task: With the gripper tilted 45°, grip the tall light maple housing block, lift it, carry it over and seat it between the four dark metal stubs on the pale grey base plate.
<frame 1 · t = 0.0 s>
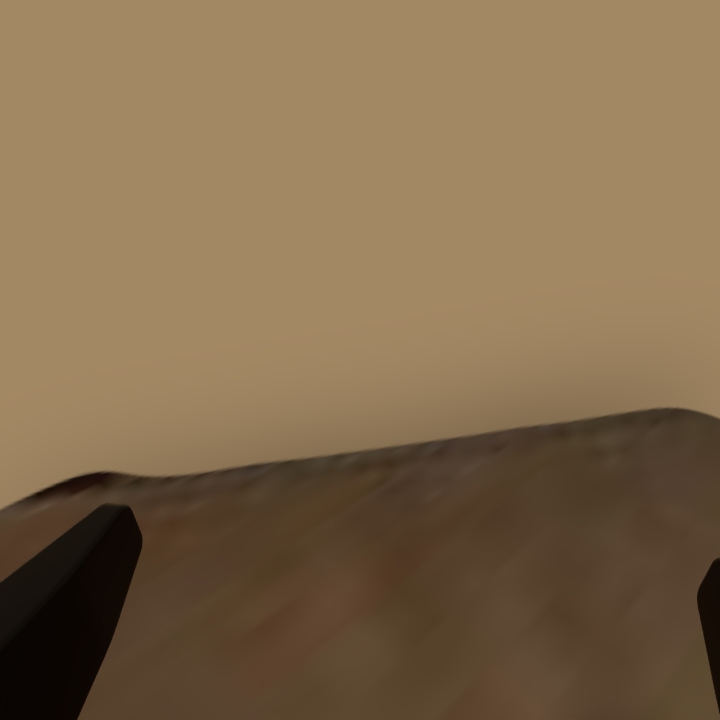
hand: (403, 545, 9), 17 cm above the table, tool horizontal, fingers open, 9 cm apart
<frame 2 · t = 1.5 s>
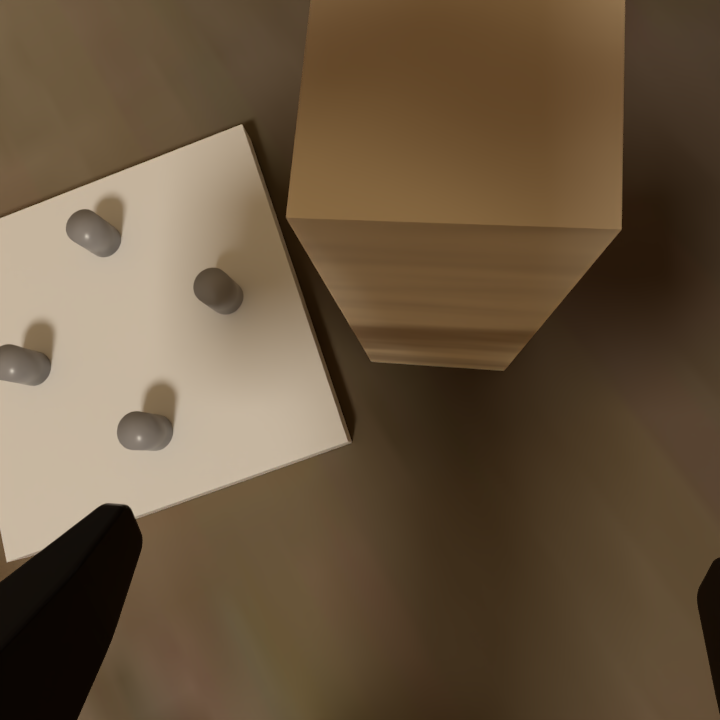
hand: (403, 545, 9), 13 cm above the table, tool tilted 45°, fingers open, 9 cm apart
stub base plate: (144, 339, 24), on the table
maple housing block: (440, 302, 23), on the table
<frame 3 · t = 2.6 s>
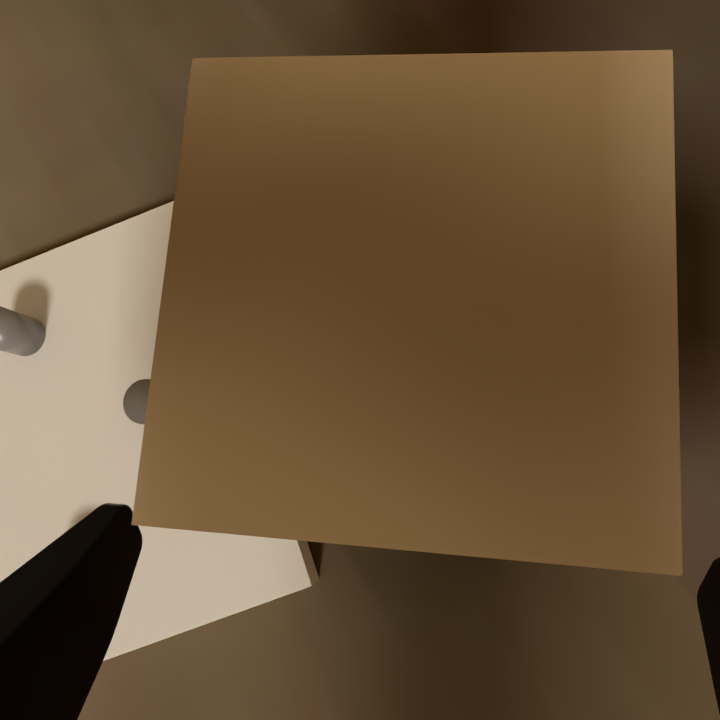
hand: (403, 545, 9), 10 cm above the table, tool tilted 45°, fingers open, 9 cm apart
stub base plate: (75, 449, 21), on the table
maple housing block: (422, 406, 20), on the table
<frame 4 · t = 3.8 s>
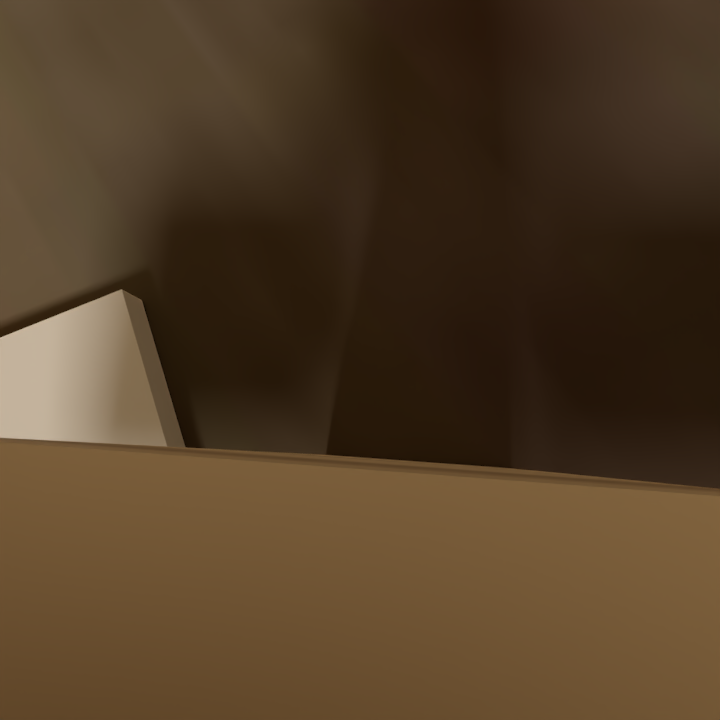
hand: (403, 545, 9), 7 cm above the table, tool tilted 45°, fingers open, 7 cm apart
maple housing block: (411, 557, 16), on the table
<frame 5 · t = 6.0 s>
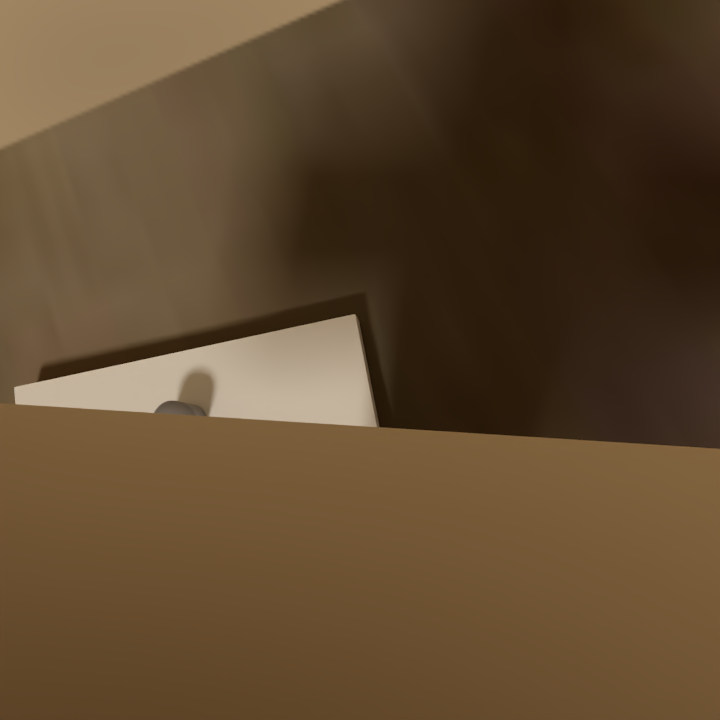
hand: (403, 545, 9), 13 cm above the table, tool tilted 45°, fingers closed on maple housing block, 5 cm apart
stub base plate: (216, 530, 22), on the table
maple housing block: (415, 558, 16), point 6 cm above the table, touching gripper
when the fingers open (9 cm above the table, at t = 8.0 s): maple housing block stays where it is, resting on stub base plate.
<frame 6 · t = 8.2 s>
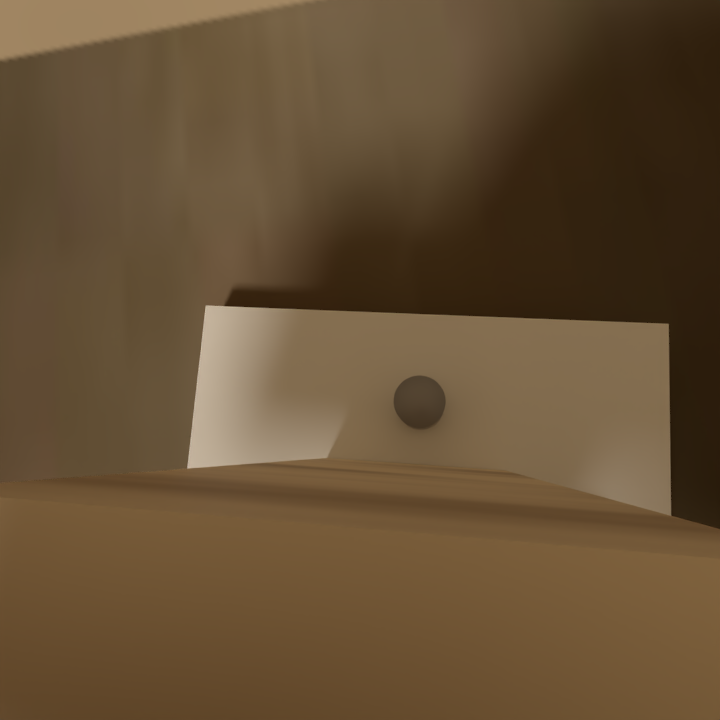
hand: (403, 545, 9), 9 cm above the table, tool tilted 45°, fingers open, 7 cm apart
stub base plate: (413, 545, 18), on the table
maple housing block: (409, 556, 16), point 1 cm above the table, touching stub base plate
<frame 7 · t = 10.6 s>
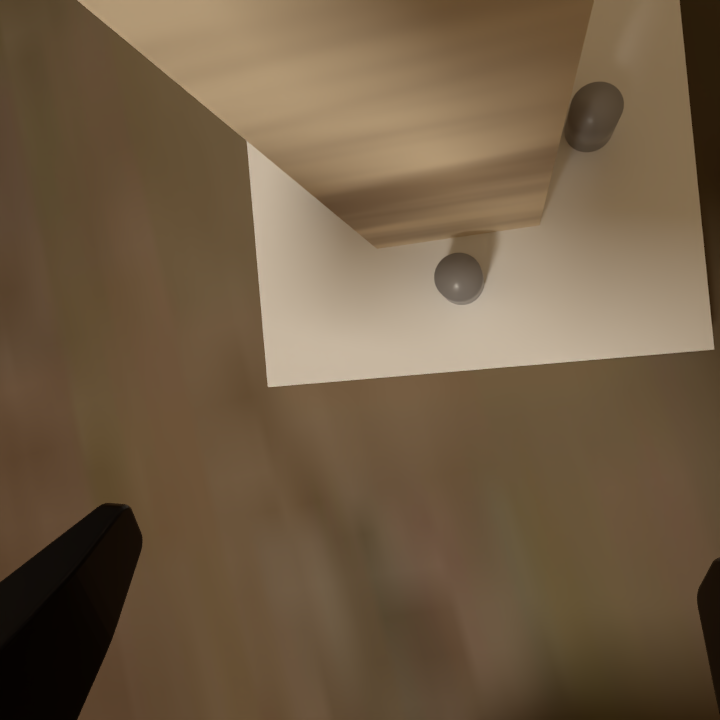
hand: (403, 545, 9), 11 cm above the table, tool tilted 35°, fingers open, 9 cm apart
stub base plate: (453, 165, 20), on the table
maple housing block: (447, 157, 19), point 1 cm above the table, touching stub base plate
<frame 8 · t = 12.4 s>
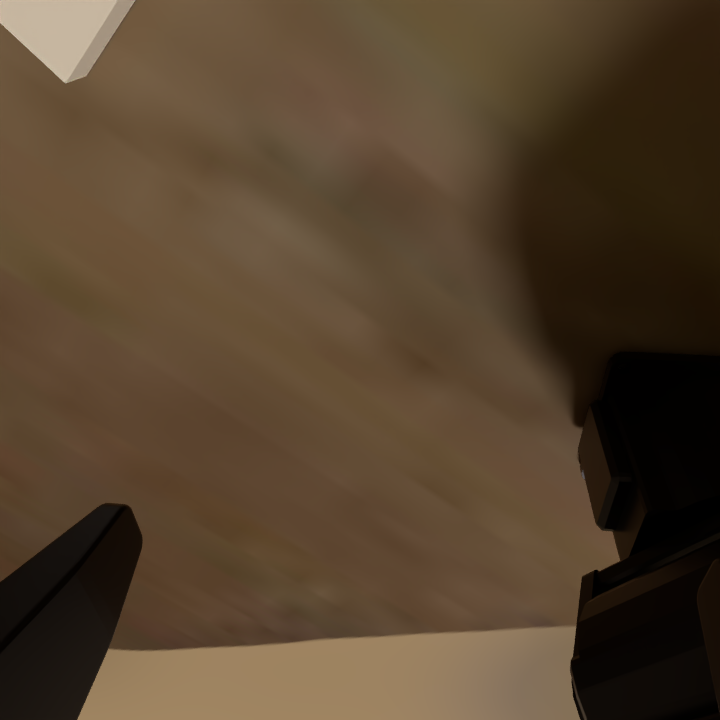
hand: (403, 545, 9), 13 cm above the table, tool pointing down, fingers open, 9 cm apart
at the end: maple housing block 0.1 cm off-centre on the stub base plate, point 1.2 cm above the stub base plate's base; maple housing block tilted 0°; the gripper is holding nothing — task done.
